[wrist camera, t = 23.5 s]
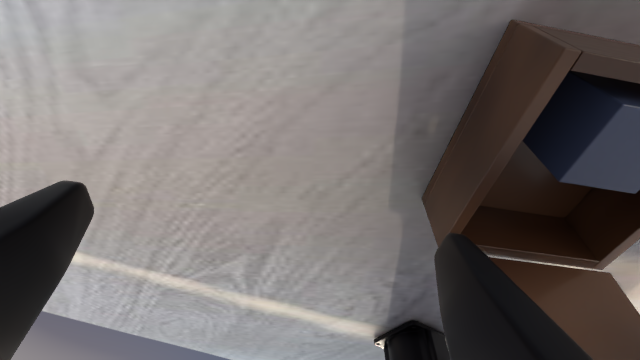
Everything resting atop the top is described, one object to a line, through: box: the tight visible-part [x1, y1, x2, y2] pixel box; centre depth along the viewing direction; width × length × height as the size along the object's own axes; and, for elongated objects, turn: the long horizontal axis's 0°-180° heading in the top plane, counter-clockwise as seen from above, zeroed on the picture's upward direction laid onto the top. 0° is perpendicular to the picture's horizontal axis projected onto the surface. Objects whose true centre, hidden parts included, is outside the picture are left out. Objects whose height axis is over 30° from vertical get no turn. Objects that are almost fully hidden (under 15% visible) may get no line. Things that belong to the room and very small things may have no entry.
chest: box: [422, 20, 640, 270], centre depth 19 cm, size 13×12×5 cm
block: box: [523, 70, 640, 194], centre depth 17 cm, size 4×4×4 cm
